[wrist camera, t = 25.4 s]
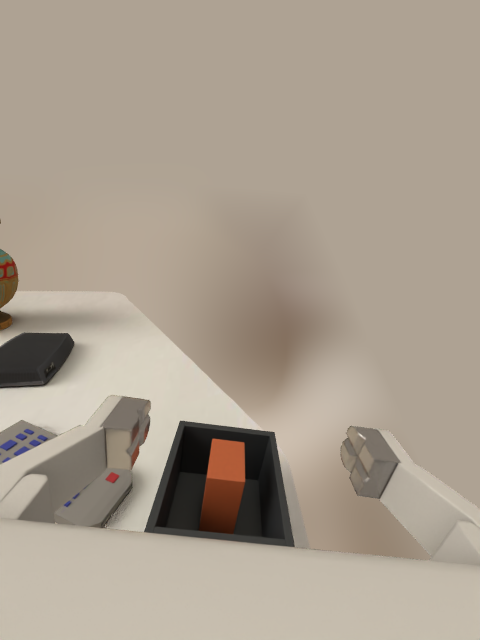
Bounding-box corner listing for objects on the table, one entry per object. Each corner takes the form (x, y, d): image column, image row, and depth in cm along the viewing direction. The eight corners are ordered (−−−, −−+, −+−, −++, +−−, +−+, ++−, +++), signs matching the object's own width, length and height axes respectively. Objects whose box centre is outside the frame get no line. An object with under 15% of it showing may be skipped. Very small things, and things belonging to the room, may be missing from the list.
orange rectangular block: (231, 501, 33) (244, 442, 29) (230, 546, 28) (245, 482, 24) (203, 498, 33) (212, 438, 29) (196, 543, 28) (206, 477, 24)
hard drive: (-35, 390, 45) (-41, 371, 43) (19, 343, 62) (17, 329, 60) (48, 386, 49) (46, 369, 48) (77, 344, 66) (76, 330, 65)
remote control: (24, 428, 39) (22, 418, 39) (138, 480, 34) (138, 469, 34) (-42, 469, 32) (-46, 457, 31) (91, 543, 27) (90, 531, 26)
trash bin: (261, 479, 37) (274, 432, 34) (273, 607, 25) (295, 550, 21) (175, 470, 37) (180, 420, 33) (141, 596, 24) (142, 535, 21)
